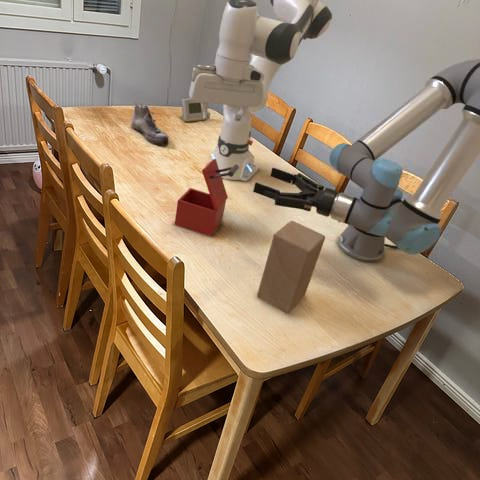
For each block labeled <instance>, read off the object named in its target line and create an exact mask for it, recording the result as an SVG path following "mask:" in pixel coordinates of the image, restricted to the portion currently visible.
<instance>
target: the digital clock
mask: <svg viewBox="0 0 480 480" xmlns="http://www.w3.org/2000/svg"><path fill="white" fill-rule="evenodd" d="M206 110H207V111H209V110H208V107H206ZM181 112H182V114H181V118H182V121H183V122H190V123H191V122H199V121H201V122H202V121H203V120H205V119H204V118H203V112H204V111H203V109H202V107H201V103H199V102H193V101H192V100H191V98H190V97H187V98H182V99H181Z"/></svg>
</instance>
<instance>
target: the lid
mask: <svg viewBox="0 0 480 480" xmlns="http://www.w3.org/2000/svg"><path fill="white" fill-rule="evenodd" d="M210 161H211V162H210ZM210 161H209V162H210V163H209V162H208V163H207V164H206V165H205V166H204V168H202V169H201V172H202V176H203V179H204V182H205V184H206V187H207V188H206V189H207V190H208V194H210V197H211V200H212V203H213V206H214V209H215V211H218V210H219V209H220V207H221V206H222V205H223V203H224V202H225V201H226V202H227V200H228V198H229V196H228V194H227V190H226V187H225V184H224V181H223V178H222V177H223V176H228V175H229V176H230V177H232V176H233V175H234V174H235V173H236V171H237V170H238V169H239V166H238V165H237V164H236V165H234V166H233V167H229V168H224V169H219V168H218V164H217V161H216V159H213V160H212V159H211V160H210ZM229 170H230V171H229ZM223 171H229V172H228V173H223V174H220V172H223Z"/></svg>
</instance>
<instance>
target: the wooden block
mask: <svg viewBox="0 0 480 480" xmlns="http://www.w3.org/2000/svg"><path fill="white" fill-rule="evenodd" d="M325 240H326V235H325V234H322V233H320V232H317V231H315V230H313V229H312V228H309V227H307V226H305V225H303V224H302V223H301V224H300V223H299V222H296V221H294V220H290V221H289V222H287V223H286V224H285V225H284V226H282V227H281V228H280V229H279V230H277V231H276V232H275V233H274V234H273V235H272V240H271V243H270V247H269V251H268V254H267V258H266V262H265V265H264V269H263V271H262V276H261V280H260V283H259V286H258V290H257V294H256V296H257V298H259V299H261V300H263V301H265V302H267V303H268V304H270V305H272V306H274V307H275V308H277V309H279V310H282V311H283V312H285V313H286V314H290V313H291V312H293V310H294V309H295V308H296V307H297V306H298V304H299V303H300V302H301V301H302V300H303V298H304V297H305V296H306V293H307V291H308V288H309V286H310V285H309V284H310V283H311V282H310V281H311V279H312V276H313V274H314V271H315V268H316V266H317V262H318V259H319V257H320V254H321V251H322V248H323V245H324V243H325Z"/></svg>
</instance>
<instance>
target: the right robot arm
mask: <svg viewBox="0 0 480 480" xmlns="http://www.w3.org/2000/svg"><path fill="white" fill-rule="evenodd" d="M455 104H463V105H464V106H463V108H462V109H461V113H462V120H461V121H460V123H459V125H458V126H457V128H456V129H455V130H454V132H453V134H452V135H451V136H450V139H449V140H448V141H447V143H446V144H445V146H444V147H443V149H442V150H441V152H440V154H439V155H438V157H437V158H436V160H434V162H433V164H432V166H431V167H430V169H429V171H428V172H427V173H426V175H425V177H424V178H423V180H422V181H421V183H419V186H418V187H417V188H416V190H415V192H414V193H413V195H409V196H406V197H405V198H404V199H403V197H404V194H403V191H402V190H400V189H399V188H398V187H399V186H400V181H401V178H402V175H403V171H404V170H403V167H402V166H401V165H400V164H399V163H397V162H396V161H392V160H391V159H387V158H381V157H382V156H383V155H384V154H385V153H387V152H388V151H389V150H391V149H392V148H393V147H395V146H396V145H398V144H399V143H400V142H401V141H402V140H404V139H405V138H406V137H408V136H409V135H410V134H411V133H413V132H414V131H415V130H417V129H418V128H419V127H420V126H422V125H423V124H424V123H426V122H427V121H428V120H429V119H431V118H432V117H433V116H435V115H436V114H437V113H438V112H439V111H441V110H447V109H449V108H451V107H452V106H453V105H455ZM479 156H480V59H478V58H474V59H468V60H467V59H466V60H464V61H461V62H458V63H454V64H453V65H450V66H448V67H445V68H444V69H443V70H440V71H439V72H437V73H436V74H434V75H433V76H432V77H430V78H429V79H428V80H427V81H426V82H425V84H424V88H422V89H421V90H420V91H418V92H417V93H416V94H415V95H413V96H412V97H411V98H410V99H408V100H407V101H405V102H404V103H403V104H402V105H400V106H399V107H398V108H397V109H395V110H394V111H393V112H392V113H390V114H389V115H388V116H387V117H385V118H383V119H382V120H381V121H380V122H379V123H377V124H376V125H375V126H374V127H372V128H371V129H370V130H368V131H367V132H366V133H365V134H363V135H362V136H361V137H359V138H358V139H357V140H356V141H355V142H353V143H352V144H350V143H346V142H342V143H339V144H336V146H334V147H333V149H332V150H331V152H330V154H329V164H330V165H331V167H332V168H333V169H334V170H336V171H337V172H338V174H342V175H343V176H344V177H346V178H347V179H349V180H350V181H351V182H353V183H354V184H355V185H357V186H358V187H359V188H361V189H362V193H361V194H360V196H359V198H358V197H355V196H353V195H350V194H347V193H344V192H338V191H337V190H335V189H332V188H329V187H325V186H324V185H322V184H318V183H317V182H316V181H313V179H311V178H309V177H307V176H306V175H304V174H302V173H300V172H298V173H297V174H293V173H290V172H287V171H284V170H282V169H279V168H276V167H272V168H271V172H270V177H271V178H274V179H276V180H279V181H282V182H284V183H287V184H291V185H292V186H293V185H294V186H295V187H296V188H297V189H298V190H300V191H299V192H284V191H283V192H282V191H280V189H277V188H273V187H271V186H268V185H265V184H262V183H259V182H256V181H255V183H254V186H253V192H252V193H255V194H258V195H260V196H263V197H266V198H269V199H271V200H274V206H276V207H283V208H291V209H297V210H302V211H305V212H311V211H312V208H315V212H316V214H317V215H320V216H322V217H326V218H328V217H330V219H332V220H335V221H337V222H338V223H342V224H345V225H347V226H346V228H345V229H344V230H343V231H342V232H341V233H340V234H339V237H338V240H337V245H338V248H339V249H340V250H341V251H342V252H343V253H344V254H346V255H347V256H349V257H351V258H353V259H355V260H359V261H361V262H367V263H374V262H378V261H380V260H381V259H382V258H383V256H384V253H385V247H386V248H389V249H399V250H401V251H403V252H404V253H405V254H407V255H412V256H413V255H415V256H416V255H419V254H422V253H423V252H425V251H427V250H428V249H430V248H431V247H432V246H433V245H435V244H436V242H437V241H438V240H439V238H440V236H441V233H442V228H441V225H440V223H441V220H442V219H443V215H442V212H441V211H442V210H443V208H444V206H446V204H447V202H448V201H449V199H450V198H451V196H452V195H453V193H454V192H455V191H456V190H457V188H458V186H459V184H460V183H461V182H462V180H463V179H464V178H465V177H466V175H467V173H468V171H469V170H470V169H471V167H472V166H473V164H474V163H475V162H476V160H477V159H478V157H479ZM402 199H403V200H402ZM386 239H387V240H388V241H390V242H391V243H392V244H393V245H392V244H388V243H385V241H386Z"/></svg>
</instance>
